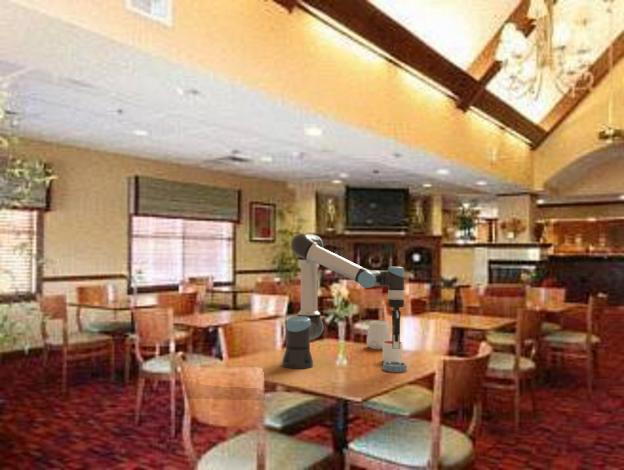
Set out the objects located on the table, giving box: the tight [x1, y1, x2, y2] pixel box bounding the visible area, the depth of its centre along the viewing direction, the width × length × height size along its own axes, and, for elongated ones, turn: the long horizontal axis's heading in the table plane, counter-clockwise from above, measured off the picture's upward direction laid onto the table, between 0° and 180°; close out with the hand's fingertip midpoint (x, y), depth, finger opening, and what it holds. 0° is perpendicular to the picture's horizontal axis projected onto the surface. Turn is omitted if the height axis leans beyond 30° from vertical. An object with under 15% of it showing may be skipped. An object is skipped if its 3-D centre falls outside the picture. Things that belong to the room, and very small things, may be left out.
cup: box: [381, 340, 403, 363], centre depth 301 cm, size 10×10×10 cm
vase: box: [366, 320, 392, 350], centre depth 342 cm, size 14×14×15 cm
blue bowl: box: [382, 361, 408, 373], centre depth 282 cm, size 11×11×4 cm
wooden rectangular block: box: [391, 324, 401, 349], centre depth 282 cm, size 3×2×11 cm
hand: (395, 347), depth 282 cm, fingers closed on wooden rectangular block, 2 cm apart
